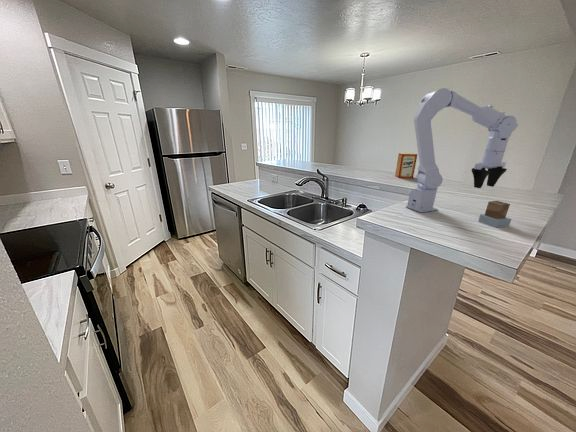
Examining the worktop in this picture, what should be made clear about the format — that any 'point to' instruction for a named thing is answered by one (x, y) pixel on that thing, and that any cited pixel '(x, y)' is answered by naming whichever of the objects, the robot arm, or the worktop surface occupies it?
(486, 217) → the slate slab
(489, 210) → the walnut block
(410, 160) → the baking soda box
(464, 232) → the worktop surface
